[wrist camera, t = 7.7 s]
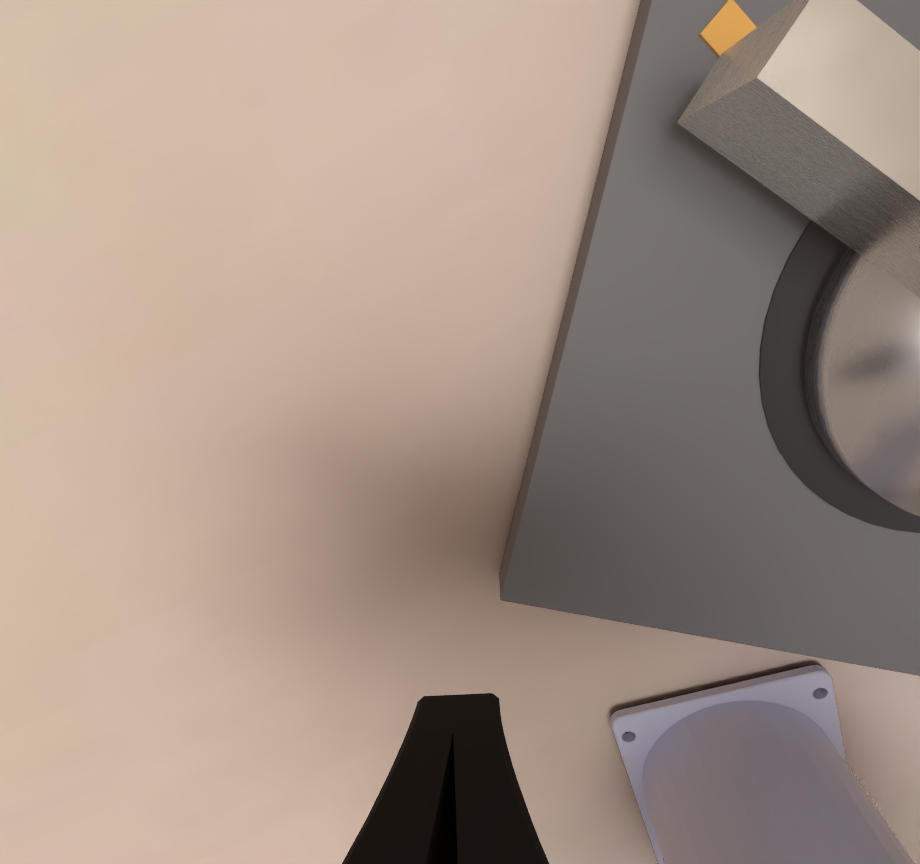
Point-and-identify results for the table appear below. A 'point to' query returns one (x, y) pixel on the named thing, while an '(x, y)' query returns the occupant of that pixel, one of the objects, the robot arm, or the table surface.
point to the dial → (840, 212)
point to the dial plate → (703, 395)
